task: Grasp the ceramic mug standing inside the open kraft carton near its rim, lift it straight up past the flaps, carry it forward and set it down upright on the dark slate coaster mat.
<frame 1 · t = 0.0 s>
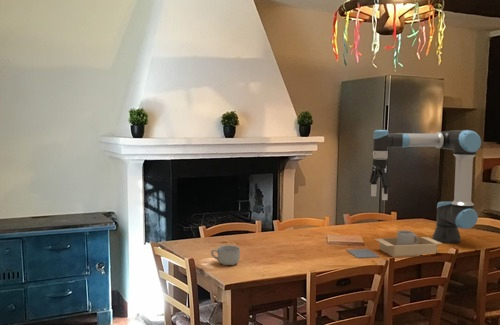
hand: (379, 198, 255), 28 cm above the table, fingers open, 13 cm apart
teacup: (225, 264, 228), on the table
coaster mat: (362, 253, 248), on the table
mug: (407, 252, 252), resting in carton
carton: (407, 252, 252), on the table
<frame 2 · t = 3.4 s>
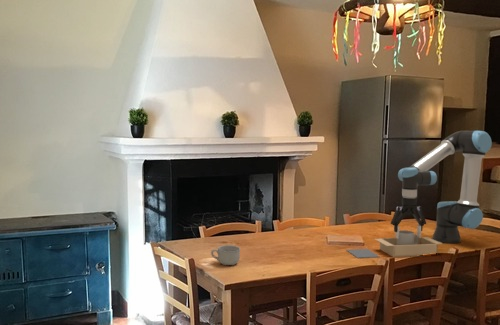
hand: (407, 237, 251), 8 cm above the table, fingers closed on mug, 12 cm apart
mug: (407, 252, 252), resting in carton, touching gripper
everything else where it was.
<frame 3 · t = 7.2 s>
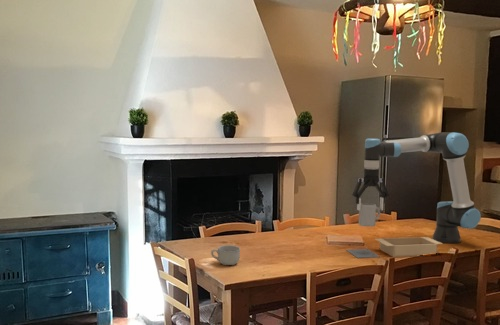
hand: (370, 210, 247), 23 cm above the table, fingers closed on mug, 12 cm apart
mug: (369, 225, 247), point 15 cm above the table, touching gripper
everything else where it was.
when the fingers open (10 cm above the table, at t = 11.0 s): mug drops 1 cm, resting on coaster mat.
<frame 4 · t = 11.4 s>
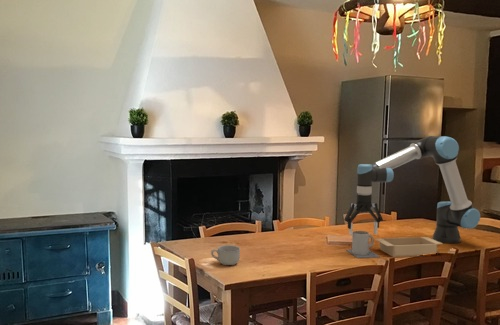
hand: (363, 234, 247), 10 cm above the table, fingers open, 13 cm apart
mug: (363, 253, 248), resting on coaster mat
everything else where it was.
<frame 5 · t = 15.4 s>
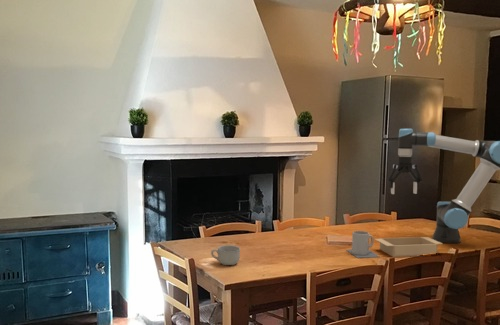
hand: (403, 193, 268), 29 cm above the table, fingers open, 13 cm apart
nothing on the table moved.
at the end: mug inside the target area on the coaster mat (0.2 cm from its centre), point 0.2 cm above the coaster mat's base; mug tilted 0°; the gripper is holding nothing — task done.
